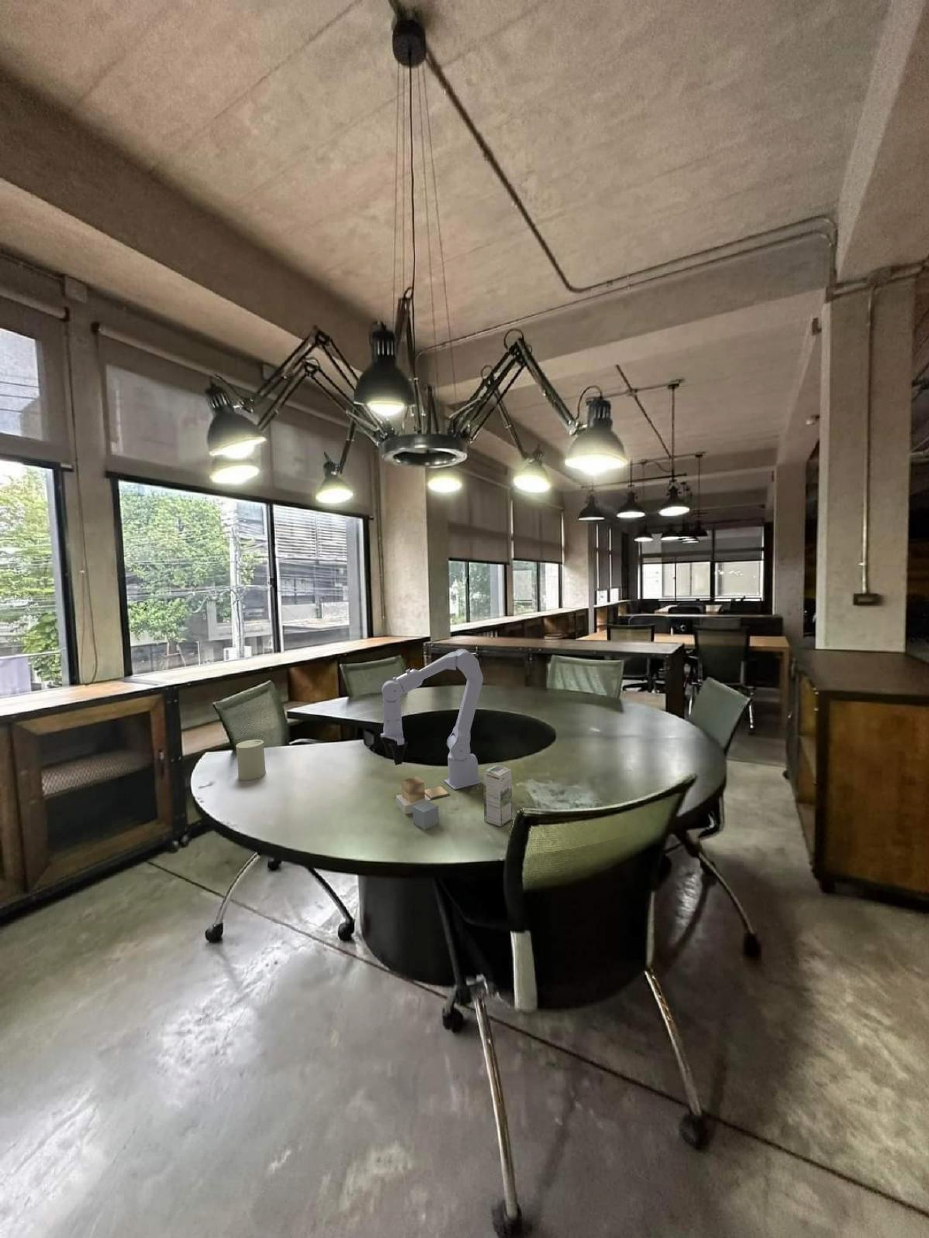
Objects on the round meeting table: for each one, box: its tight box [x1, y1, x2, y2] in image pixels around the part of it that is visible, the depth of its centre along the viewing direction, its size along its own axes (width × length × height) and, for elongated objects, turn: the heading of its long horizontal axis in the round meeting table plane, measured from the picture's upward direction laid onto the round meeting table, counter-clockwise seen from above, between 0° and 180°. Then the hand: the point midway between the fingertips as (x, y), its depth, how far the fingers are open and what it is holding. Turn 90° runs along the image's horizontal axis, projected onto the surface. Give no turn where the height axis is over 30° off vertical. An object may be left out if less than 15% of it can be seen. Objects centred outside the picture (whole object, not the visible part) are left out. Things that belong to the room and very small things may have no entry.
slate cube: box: [412, 801, 440, 831], centre depth 136 cm, size 5×5×5 cm
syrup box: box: [482, 765, 513, 828], centre depth 136 cm, size 6×6×14 cm
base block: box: [395, 793, 432, 815], centre depth 147 cm, size 8×8×3 cm
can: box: [235, 738, 267, 781], centre depth 175 cm, size 9×9×12 cm
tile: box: [425, 785, 451, 801], centre depth 155 cm, size 7×7×1 cm
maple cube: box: [401, 776, 426, 802], centre depth 147 cm, size 5×5×5 cm
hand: (394, 760), depth 158 cm, fingers open, 7 cm apart
